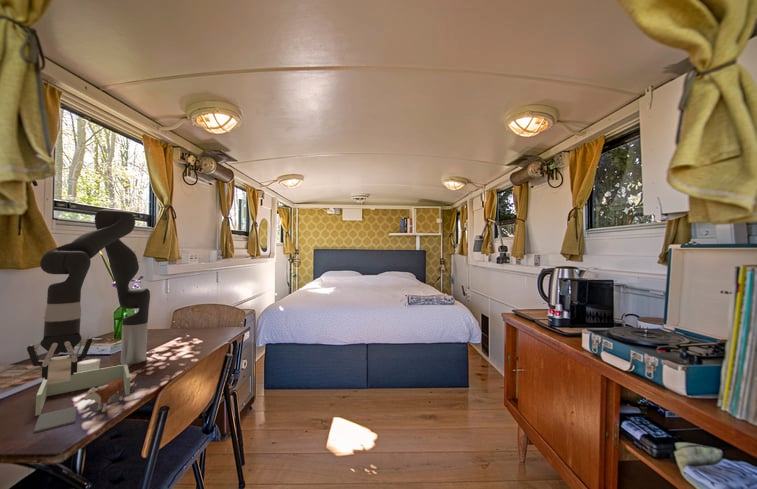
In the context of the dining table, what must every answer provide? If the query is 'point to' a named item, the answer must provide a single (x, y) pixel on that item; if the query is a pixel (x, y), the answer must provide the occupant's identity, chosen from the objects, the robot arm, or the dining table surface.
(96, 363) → the cream cup
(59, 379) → the cream block
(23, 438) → the dining table surface
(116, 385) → the bull figurine
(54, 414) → the grey rectangular plate
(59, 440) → the dining table surface
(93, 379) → the green u-shaped frame
